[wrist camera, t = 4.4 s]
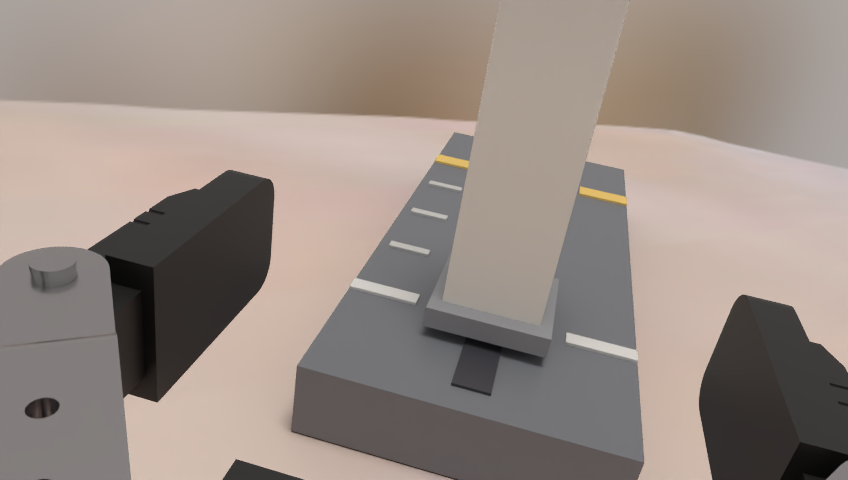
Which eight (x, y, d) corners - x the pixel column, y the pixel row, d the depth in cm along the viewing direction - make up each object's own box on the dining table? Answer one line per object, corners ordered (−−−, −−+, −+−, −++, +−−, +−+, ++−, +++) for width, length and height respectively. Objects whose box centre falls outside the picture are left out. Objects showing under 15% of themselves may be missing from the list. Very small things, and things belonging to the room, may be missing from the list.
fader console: (618, 526, 20) (645, 460, 19) (291, 430, 21) (296, 363, 20) (611, 209, 41) (624, 168, 40) (447, 171, 42) (454, 130, 41)
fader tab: (546, 358, 22) (674, -87, 16) (422, 325, 22) (503, -116, 17) (554, 295, 25) (662, -88, 19) (447, 268, 26) (520, -112, 20)
